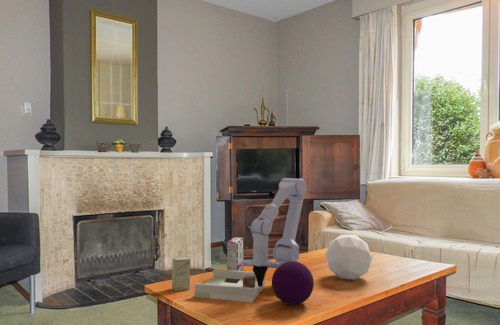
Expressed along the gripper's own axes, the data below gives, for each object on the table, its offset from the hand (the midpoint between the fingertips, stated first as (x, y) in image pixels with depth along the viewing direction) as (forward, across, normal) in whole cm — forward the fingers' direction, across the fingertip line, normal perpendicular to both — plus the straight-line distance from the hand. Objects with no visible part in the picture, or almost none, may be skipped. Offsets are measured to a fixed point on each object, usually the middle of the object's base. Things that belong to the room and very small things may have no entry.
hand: (260, 285), depth 160 cm
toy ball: (+3, +14, -8) cm, 16 cm away
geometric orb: (+3, +33, +31) cm, 45 cm away
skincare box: (+3, -31, -3) cm, 32 cm away
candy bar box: (+3, -15, +19) cm, 25 cm away
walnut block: (+1, -4, 0) cm, 4 cm away
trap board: (+3, -11, 0) cm, 12 cm away
